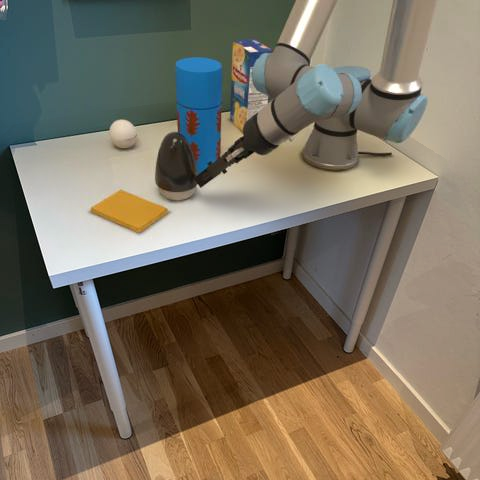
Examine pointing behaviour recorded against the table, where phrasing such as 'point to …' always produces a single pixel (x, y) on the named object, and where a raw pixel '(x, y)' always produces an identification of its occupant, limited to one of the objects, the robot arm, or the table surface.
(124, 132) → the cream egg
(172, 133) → the black glossy oval body
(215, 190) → the table surface
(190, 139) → the thermos
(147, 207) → the mustard mat
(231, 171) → the table surface
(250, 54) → the cracker box
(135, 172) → the table surface
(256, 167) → the table surface
